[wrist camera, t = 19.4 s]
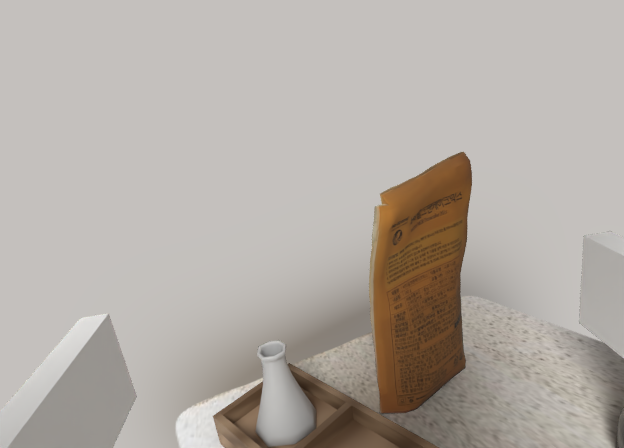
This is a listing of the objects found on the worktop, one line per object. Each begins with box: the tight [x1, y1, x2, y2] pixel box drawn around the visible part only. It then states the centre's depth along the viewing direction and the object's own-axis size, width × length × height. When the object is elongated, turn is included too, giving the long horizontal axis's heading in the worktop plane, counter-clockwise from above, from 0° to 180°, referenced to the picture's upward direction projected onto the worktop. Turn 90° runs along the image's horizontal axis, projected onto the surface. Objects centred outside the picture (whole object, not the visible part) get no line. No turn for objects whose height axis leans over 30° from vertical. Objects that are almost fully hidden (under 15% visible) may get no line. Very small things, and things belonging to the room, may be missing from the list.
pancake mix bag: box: [369, 152, 472, 413], centre depth 51 cm, size 7×19×28 cm, turn 129°
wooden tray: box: [213, 363, 439, 448], centre depth 45 cm, size 22×12×4 cm, turn 44°
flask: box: [255, 340, 316, 447], centre depth 48 cm, size 7×7×10 cm
